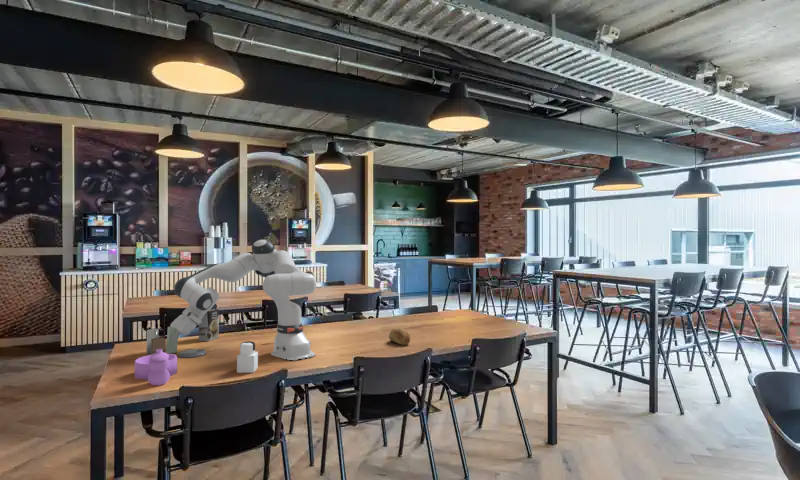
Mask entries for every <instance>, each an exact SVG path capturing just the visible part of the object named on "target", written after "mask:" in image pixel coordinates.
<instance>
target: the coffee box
mask: <svg viewBox="0 0 800 480" xmlns="http://www.w3.org/2000/svg"><path fill="white" fill-rule="evenodd" d="M219 317H220V308H211V309H210V310H209V311H207V312H206V313H205V315H204V316H203V317H202V318H201V323H200V324H199V325H198V341H203V342H209V341H213V340H216V339H219V334H220V332H219V330H220V325H219V324H220V320H219V319H220V318H219Z"/></svg>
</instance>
